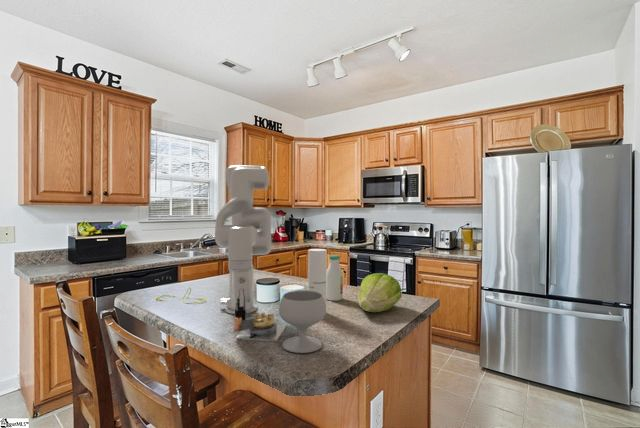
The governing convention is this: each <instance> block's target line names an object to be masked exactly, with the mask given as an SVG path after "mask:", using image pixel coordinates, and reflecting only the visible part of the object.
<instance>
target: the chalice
mask: <svg viewBox="0 0 640 428" xmlns="http://www.w3.org/2000/svg"><path fill="white" fill-rule="evenodd" d="M278 310H279V311H278V313H279V314H278V315H279V316H280V318H281V320H283V321H284V322H285V323H287V324H289V325H291V326H293V327H295V328H296V329H297V330H298V332H299V335H298V336H292V337H288V338H287V339H285V340H284V341H283V342H282V344H281V346H282V348H283V349H284V350H285V351H287V352H291V353H295V354H296V353H297V354H304V353H305V354H307V353H312V352H316V351H318V350H320V349H321V348H322V347H323V345H324V343H323V341H322V340H320V339H319V338H318V337H315V336H310V335H307V330H308V329H309V328H310V327H312V326H314V325H316V324H318V323H320V322H321V321H322V320H323V319H324V318H325V316H326V314H327V303H326V304H325V301H324V298H323V296H322V294H320V293H318V292H314V291H308V290H293V291H292V290H291V291H288V292H286V293H284V294H283V295H282V297H281V298H280V302H279V308H278Z"/></svg>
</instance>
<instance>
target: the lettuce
mask: <svg viewBox="0 0 640 428" xmlns="http://www.w3.org/2000/svg"><path fill="white" fill-rule="evenodd" d="M401 298H402V288H401V284H400V282H399V281H398V280H397V279H396V278H395V277H394V276H391V275H389V274H386V273H384V272H383V273H382V272H381V273H380V272H378V273H377V272H375V273H371V274H369V275H366V276H365V277H364V278H363V279H362V281H361V283H360V287H359V292H358V296H357V303H358V305H359V307H360V308H361V309H362V310H363V311H366V312H370V313H381V312H384V311H389V310H390V309H391V308H392V307H393V306H394V305H396V304H397V303H398V302H399V301H400V300H401Z"/></svg>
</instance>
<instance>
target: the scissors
mask: <svg viewBox="0 0 640 428" xmlns="http://www.w3.org/2000/svg"><path fill="white" fill-rule="evenodd" d="M189 289H190V290H189ZM188 291H189V292H188ZM187 293H188V295H187ZM191 293H192V289H191V287H188V288H187V290H186V292H185V294H184V295H183V296H182V298H180V297H179V296H175V295H170V294H161V295H157V296H156V297H155V299H156V300H157V301H161V302H167V300H164V299H160V298H159V297H164V296H167V297H174V298H177V299H180V300H181V301H182V300H184V301H185V299H184V298H185V297H186V295H187V297H186V299H188V298H189V296H190V295H191ZM194 300H200V301H195V302H193V301H192V304H198V303H202V302H206V301H207V298H201V297H199V298H198V297H197V298H196V297H195V298H194ZM171 301H172V300H170V302H171ZM184 301H183V304H186V302H184Z"/></svg>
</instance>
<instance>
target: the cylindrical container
mask: <svg viewBox="0 0 640 428" xmlns="http://www.w3.org/2000/svg"><path fill="white" fill-rule="evenodd" d="M307 252H308V254H307V255H308V260H307V261H308V262H307V264H308V267H307V268H308V269H307V270H308V271H307V273H308V274H307V283H308V284H307V291H314V292H318V293H320V294H322V296H323V298H324V301H325V304H326V305H327V299H326V272H327V252H328V251H327V249H325V248H311V249H310V248H309V249H308V250H307Z"/></svg>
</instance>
